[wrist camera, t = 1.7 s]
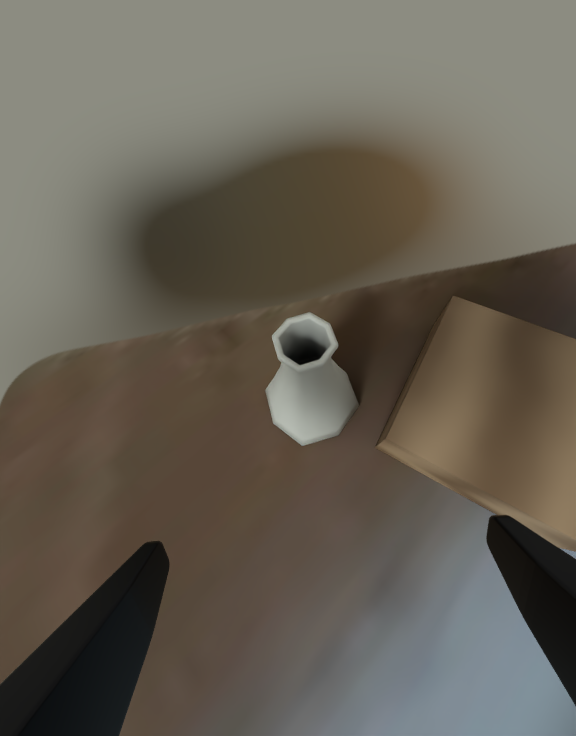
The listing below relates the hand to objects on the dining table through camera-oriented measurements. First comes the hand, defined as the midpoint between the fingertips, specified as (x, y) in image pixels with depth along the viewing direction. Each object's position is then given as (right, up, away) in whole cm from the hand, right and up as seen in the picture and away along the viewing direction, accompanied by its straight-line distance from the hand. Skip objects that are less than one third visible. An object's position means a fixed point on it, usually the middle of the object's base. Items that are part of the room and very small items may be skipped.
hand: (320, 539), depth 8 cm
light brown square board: (+14, +1, +14) cm, 19 cm away
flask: (+1, +2, +16) cm, 16 cm away
